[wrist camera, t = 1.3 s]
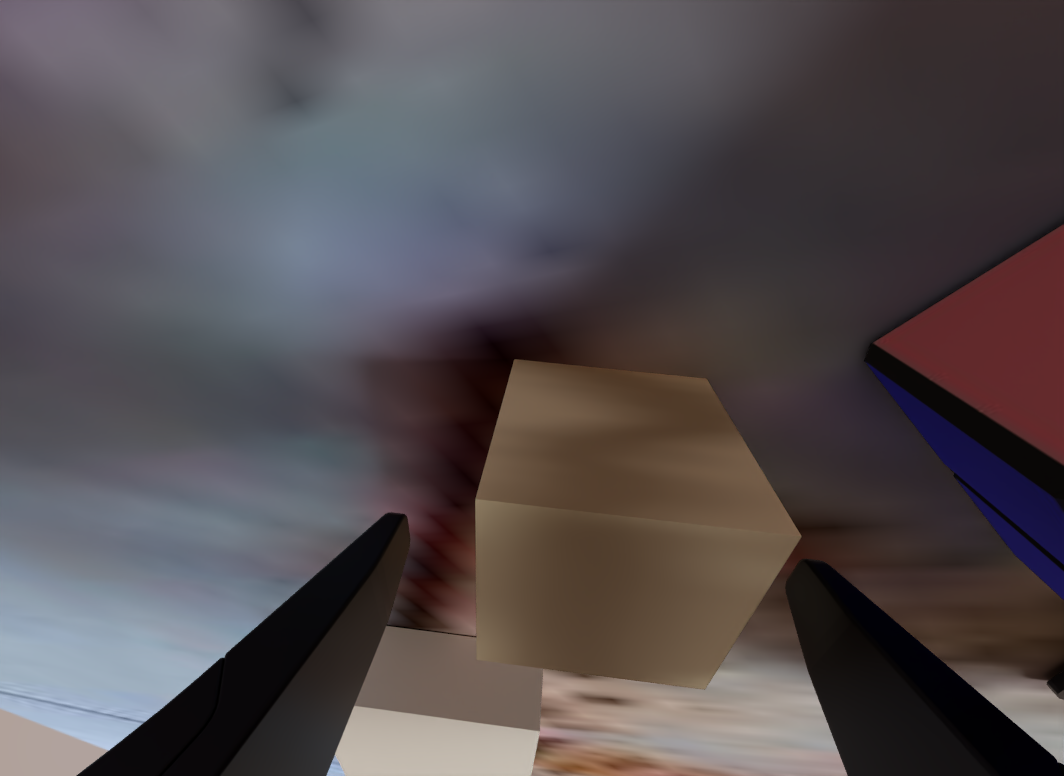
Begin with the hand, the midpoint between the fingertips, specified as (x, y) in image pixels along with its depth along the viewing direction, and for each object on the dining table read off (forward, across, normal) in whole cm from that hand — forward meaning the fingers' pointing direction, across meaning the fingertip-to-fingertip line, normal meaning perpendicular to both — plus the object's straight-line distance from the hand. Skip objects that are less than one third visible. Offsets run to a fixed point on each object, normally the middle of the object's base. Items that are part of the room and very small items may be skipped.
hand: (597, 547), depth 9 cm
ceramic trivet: (+4, +5, +16) cm, 17 cm away
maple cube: (+4, 0, 0) cm, 4 cm away
